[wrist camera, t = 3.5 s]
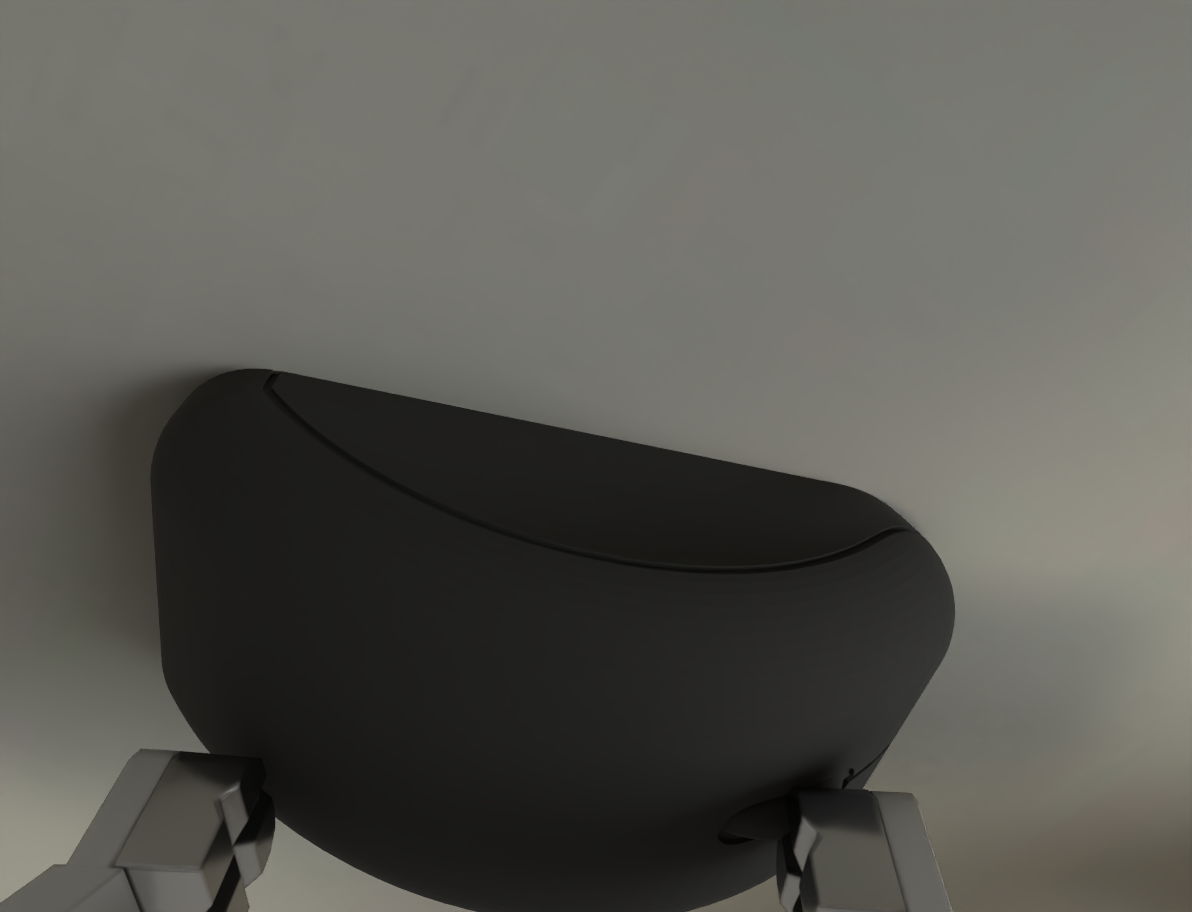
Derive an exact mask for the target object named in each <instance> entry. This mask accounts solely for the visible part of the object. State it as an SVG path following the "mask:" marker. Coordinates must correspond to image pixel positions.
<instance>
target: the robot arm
mask: <svg viewBox="0 0 1192 912" xmlns="http://www.w3.org/2000/svg"><path fill="white" fill-rule="evenodd" d="M266 776H267V773H266V770H265V767H264V763H263V760H262V758H256V757H244V756H232V755H220V754H208V753H195V752H183V751H170V750H155V749H140V750H139V751H138V752H137V753H136V754H135V755H133V756H132V757H131V758H130V759H129V760H128V762H127V763H126V765H125V767H124V768H123V770H122V772H121V773H120V775H119V777H118V778H117V780H116V782H115V783H114V785H113V787H112V788H111V790H110V792H109V794H108V795H107V797H106V799H105V800H104V802H103V804H102V805H101V807H100V809H99V810H98V812H97V814H96V815H95V817H94V819H93V820H92V822H91V824H90V825H89V827H88V829H87V830H86V832H85V834H84V835H83V837H82V839H81V840H80V842H79V844H78V846H77V847H76V849H75V851H74V852H73V854H72V856H71V857H70V859H69V861H68V862H67V864H66V865H59V864H54V865H53V866H51V867H50V868H48V869H47V870H46V871H44V872H43V873H41V874H40V875H39V876H37V877H36V878H34V879H33V880H32V881H30V882H29V883H28V884H26V885H25V886H23V887H22V888H21V889H19V890H18V891H16V892H15V893H14V894H12V895H11V896H9V897H8V898H7V899H5V900H4V901H2V902H1V903H0V912H248V910H249V903H248V900H247V896H246V892H245V888H246V887H247V886H248V885H249V884H251V883H252V882H253V881H254V880H255V879H256V878H258V877H259V876H260V875H261V874H262V873H263V871H264V868H265V865H266V862H267V860H268V857H269V854H270V851H271V846H272V841H273V836H274V831H275V808H274V803H273V799H272V797H271V796H270V795H268V794H267V793H266V792H265V791H264V790H262V789H261V788H262V786H263V783H264V781H265V778H266ZM786 811H787V817H788V823H789V830H790V832H789V833H788V834H786V835H785V836H784V837H783V838H782V839H781V840H778V841H777V853H776V875H777V887H778V894H779V902H780V905H781V906H782V907H783V908H784V909H785V911H786V912H953V910H952V907H951V904H950V901H949V898H948V895H947V892H946V889H945V885H944V882H943V879H942V876H941V873H940V870H939V867H938V864H937V861H936V857H935V854H934V851H933V848H932V845H931V842H930V839H929V836H928V833H927V829H926V826H925V823H924V820H923V817H922V814H921V811H920V808H919V805H918V801H917V800H916V799H915V798H914V796H913V795H912V794H911V793H900V792H879V791H869V790H860V789H837V788H813V787H792V788H791V790H790V791H789V793H788V797H787V801H786Z"/></svg>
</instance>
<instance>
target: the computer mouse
mask: <svg viewBox="0 0 1192 912" xmlns="http://www.w3.org/2000/svg"><path fill="white" fill-rule="evenodd" d="M151 497H152V513H153V528H154V544H155V560H156V576H157V592H158V608H159V624H160V640H161V656H162V668H163V673H164V677H165V680H166V683H167V686H168V689H169V691H170V693H171V695H172V696H173V698H174V700H175V702H176V704H177V706H178V707H179V709H180V711H181V712H182V714H183V716H184V717H185V719H186V721H187V722H188V724H189V725H190V727H191V728H192V730H193V731H194V732H195V734H196V735H197V737H198V738H199V740H200V741H201V742H202V743H203V745H204V746H205V747H206V749H207V750H208V751H209V752H210V754H220V755H232V756H244V757H256V758H262V760H263V763H264V767H265V770H266V773H267V776H266V778H265V781H264V783H263V786H262V788H261V789H262V790H264V791H265V792H266V793H267V794H268V795H270V796H271V797H272V799H273V803H274V808H275V817H276V818H277V819H278V820H280V821H281V822H282V823H284V824H285V825H287V826H288V827H289V828H291V829H292V830H293V831H295V832H296V833H298V834H299V835H301V836H302V837H304V838H305V839H307V840H308V841H310V842H311V843H313V844H314V845H316V846H318V847H319V848H321V849H322V850H324V851H326V852H328V853H329V854H331V855H333V856H335V857H337V858H338V859H340V860H342V861H344V862H345V863H347V864H349V865H351V866H353V867H355V868H357V869H359V870H361V871H363V872H365V873H367V874H369V875H371V876H373V877H376V878H378V879H380V880H382V881H385V882H387V883H389V884H392V885H394V886H396V887H399V888H401V889H404V890H407V891H409V892H412V893H415V894H418V895H420V896H423V897H426V898H430V899H433V900H436V901H439V902H442V903H445V904H449V905H453V906H457V907H460V908H464V909H468V910H472V911H477V912H686V911H690V910H693V909H697V908H700V907H704V906H707V905H710V904H713V903H716V902H718V901H721V900H724V899H727V898H730V897H732V896H734V895H737V894H739V893H741V892H744V891H746V890H748V889H750V888H752V887H754V886H756V885H758V884H760V883H762V882H764V881H766V880H768V879H769V878H771V877H773V876H775V875H776V853H777V841H778V840H781V839H782V838H783V837H784V836H785V835H786V834H788V833H789V832H790V830H789V823H788V817H787V811H786V801H787V797H788V793H789V791H790V790H791V788H792V787H813V788H837V789H860V790H862V789H863V787H864V785H865V784H866V782H867V781H868V779H869V777H870V776H871V774H872V773H873V771H874V769H875V768H876V766H877V765H878V763H879V761H880V760H881V758H882V757H883V755H884V753H885V752H886V750H887V749H888V747H889V745H890V744H891V742H892V740H893V739H894V737H895V736H896V734H897V732H898V731H899V729H900V728H901V726H902V724H903V723H904V721H905V720H906V718H907V716H908V715H909V713H910V712H911V710H912V708H913V707H914V705H915V704H916V702H917V700H918V699H919V697H920V695H921V694H922V692H923V691H924V689H925V687H926V686H927V684H928V683H929V681H930V679H931V678H932V676H933V675H934V673H935V671H936V670H937V668H938V667H939V665H940V663H941V662H942V660H943V658H944V656H945V654H946V652H947V650H948V647H949V644H950V641H951V638H952V633H953V628H954V620H955V603H954V595H953V590H952V585H951V582H950V579H949V576H948V574H947V571H946V569H945V567H944V565H943V563H942V561H941V559H940V557H939V556H938V554H937V553H936V551H935V550H934V549H933V547H932V546H931V545H930V543H929V542H928V541H927V540H926V539H925V538H924V537H923V536H921V534H920V533H919V532H918V531H917V530H916V529H915V528H914V527H912V526H911V525H910V524H909V523H908V522H907V521H906V520H905V519H904V518H903V517H901V516H900V515H899V514H898V513H897V512H895V511H894V510H893V509H892V508H891V507H889V506H888V505H887V504H885V503H884V502H882V501H880V500H879V499H877V498H876V497H874V496H872V495H870V494H868V493H865V492H863V491H860V490H858V489H855V488H851V487H848V486H844V485H840V484H835V483H830V482H825V481H820V480H815V479H810V478H805V477H800V476H795V475H790V474H785V473H781V472H776V471H771V470H766V469H761V468H756V467H751V466H746V465H741V464H736V463H731V462H726V461H721V460H716V459H711V458H706V457H702V456H697V455H692V454H687V453H682V452H677V451H672V450H667V449H662V448H657V447H652V446H647V445H642V444H637V443H632V442H627V441H622V440H618V439H613V438H608V437H603V436H598V435H593V434H588V433H583V432H578V431H573V430H568V429H563V428H558V427H553V426H548V425H543V424H539V423H534V422H529V421H524V420H519V419H514V418H509V417H504V416H499V415H494V414H489V413H484V412H479V411H474V410H469V409H464V408H459V407H455V406H450V405H445V404H440V403H435V402H430V401H425V400H420V399H415V398H410V397H405V396H400V395H395V394H390V393H385V392H380V391H376V390H371V389H366V388H361V387H356V386H351V385H346V384H341V383H336V382H331V381H326V380H321V379H316V378H311V377H306V376H301V375H297V374H292V373H287V372H282V373H281V374H280V376H277V375H273V373H272V370H266V369H247V370H238V371H233V372H229V373H225V374H222V375H219V376H217V377H215V378H212V379H210V380H208V381H207V382H205V383H204V384H202V385H200V386H199V387H198V388H197V389H196V390H194V391H193V392H192V393H191V394H190V396H189V397H188V398H187V399H186V400H185V401H184V403H183V404H182V405H181V406H180V407H179V409H178V410H177V411H176V412H175V414H174V415H173V416H172V417H171V419H170V420H169V422H168V423H167V425H166V426H165V428H164V430H163V432H162V434H161V436H160V438H159V440H158V443H157V445H156V448H155V451H154V455H153V460H152V465H151Z"/></svg>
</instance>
